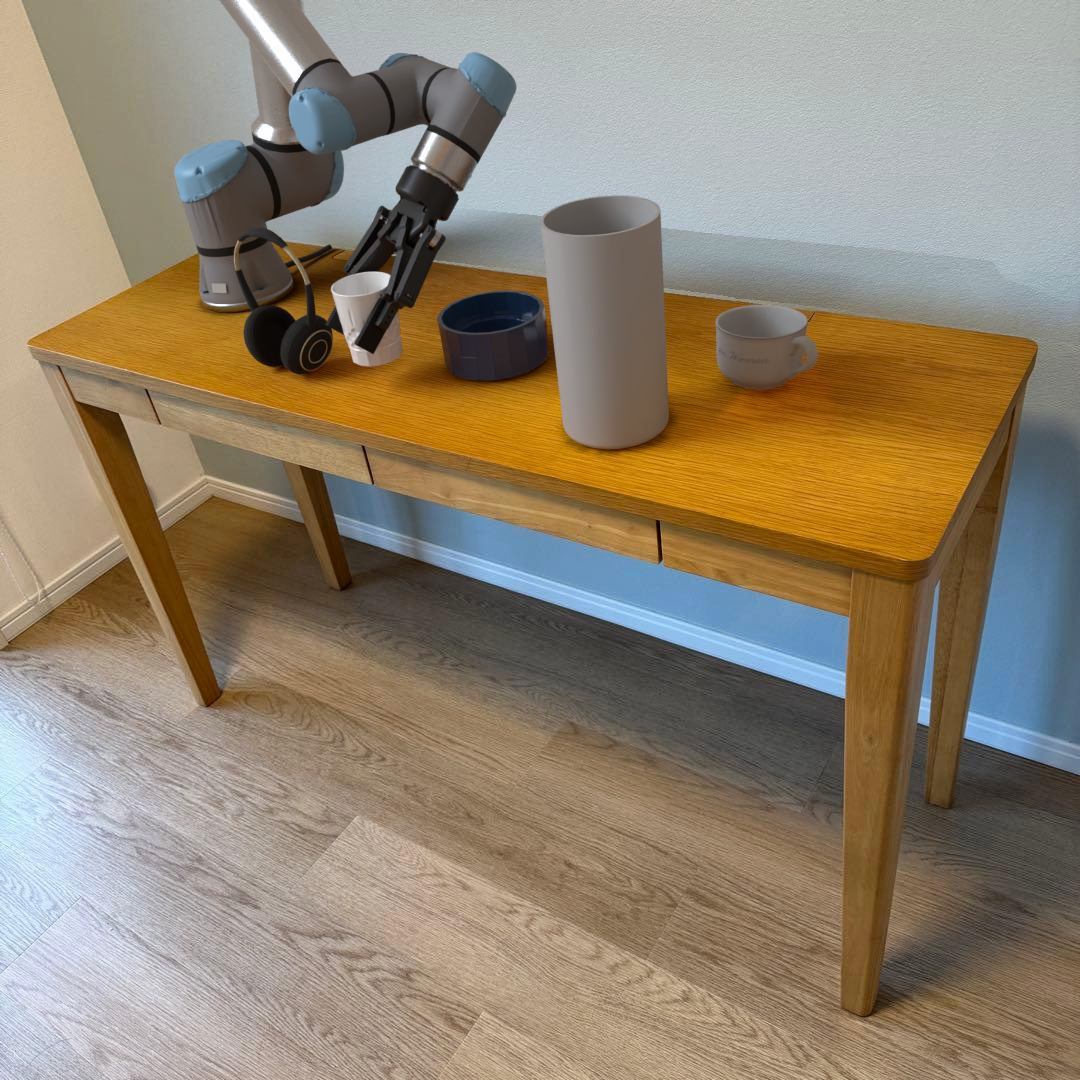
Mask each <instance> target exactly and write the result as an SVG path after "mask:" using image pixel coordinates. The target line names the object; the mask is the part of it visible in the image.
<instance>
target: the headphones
mask: <svg viewBox="0 0 1080 1080" xmlns="http://www.w3.org/2000/svg"><path fill="white" fill-rule="evenodd" d="M250 236H253V237H259V238H264V239H266V240H268V241H271V243H272V244H273V245H276V246H277V247H279V248H280V249H281V250H284V252H286V253H287V255H288V256H289V257H290V259H292V260H293V261H294V262H295V264H296V265H295V266H296V267H297V268H298V270H299V272H300V274H301V276H302V278H303V281H304V284H303V285H304V291H305V297H306V314H305V315H303V316H301V317H299V318H297V319H295V318H294V316H293V315H292V314H291V313H290V312H289V311H288V310H286V309H284V308H283V307H280V306H278V305H275V304H268V305H265V306H262V307H259V305H258V303H257V301H256V300H255V298H254V296H253V294H252V292H251V290H250V288H249V286H248V284H247V282H246V280H245V277H244V275H243V272H242V270H241V269H240V266H239V258H238V255H239V248H240V245H241V243H242V241H244V240H245V239H246V238H247V237H250ZM298 258H299V257H297V256H296V254H295V253H294V252H293V251H292V249H291V248H290V247H289V245H288V243H286V241H285V240H284V239H283V238H282V237H280V236H279V235H278V234H277V233H275V232H274V231H273V230H271V229H268V228H267V229H266V228H251V229H248V230H246V231H244V232H243V233H241V235H240V236H239V238H238V242H237V244H236V247H235V251H234V264H235V269H236V270H235V272H236V275H237V278H238V281H239V284H240V287H241V289H242V292H243V294H244V297H245V299H246V301H247V303H248V306H249V308H250V310H249V311H250V313H249V315H248V316H247V317H246V319H245V322H244V326H243V340H244V344H245V346H246V349H247V351H248V352H249V354H250V356H251V357H252V358H253V359H254V360H256V361H257V362H258V363H259V364H260V365H263V366H265V367H270V368H280V367H285V369H287V370H288V371H289V372H291V373H292V374H296V375H300V376H302V375H303V376H304V375H307V374H310V373H313V372H314V371H316V370H318V369H320V367H322V366H323V365H324V364H325V363H326V362H327V360H328V359H329V357H330V355H331V353H332V350H333V344H334V333H333V329H332V328H330V327H328V326H326V325H325V324H326V322H327V319H325V318H324V317H323V316H321V315H318V314H317V313H316V312H317V311H316V303H315V296H314V291H313V287H312V282H311V281H310V279H309V276H308V274H307V271H306V269H305V267H304V266H303V263H300V261H299V260H298Z"/></svg>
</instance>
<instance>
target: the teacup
mask: <svg viewBox="0 0 1080 1080" xmlns="http://www.w3.org/2000/svg"><path fill="white" fill-rule="evenodd" d="M808 319H809V318H808V317H807V315H805V314H804V313H802V312H801V311H799V310H797V309H795V308H793V307H789V306H784V305H776V304H752V305H743V306H738V307H733V308H730V309H728V310H726V311H723V312H722V313H721V314H719V315H717V317H716V319H715V327H716V332H715V333H716V334H715V335H716V338H715V345H716V347H715V348H716V349H715V350H716V351H715V352H716V353H715V354H716V362H717V363H716V364H717V366H718V369H719V371H720V373H721V374H722V375H723V376H724V377H725V378H727V379H728V380H729V381H731V383H733V384H734V385H736V386H737V387H739V388H743V389H747V390H754V391H764V390H765V391H767V390H771V389H772V390H773V389H776V388H779V387H781V386H783V385H784V384H786V383H787V382H788V381H790V380H794V379H797V377H798V375H802V374H804V373H806V372H808V371H810V370H811V369H813V368H814V367H815V366H816V364H817V361H818V359H819V358H818V357H819V352H818V348H817V345H816V343H815V342H814V340H813V339H811V338H810V337H809V336H807V329H808V326H809V320H808ZM804 357H805V358H804ZM804 359H805V361H804ZM803 362H804V363H803Z"/></svg>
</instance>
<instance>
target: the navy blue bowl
mask: <svg viewBox="0 0 1080 1080" xmlns="http://www.w3.org/2000/svg"><path fill="white" fill-rule="evenodd" d="M436 321H437V325H438V331H439V336H440V343H441V347H442V353H443V358H444V364H445V367H446V370H447V371H449V372H450V374H452V375H453V376H456V377H459V378H462V379H464V380H471V381H479V382H480V381H481V382H482V381H498V380H503V379H511V378H514V377H517V376H521V375H523V374H527V373H529V372H531V371H533V370H534V369H536V368H538V367H540V366H541V365H542V364H543V363H544V362H545V361H546V360H547V359H548V357H549V353H550V342H549V334H548V326H547V325H548V323H547V315H546V307H545V304H544V302H543V300H542V298H540V297H538V296H537V295H535V294H533V293H529V292H527V291H526V292H525V291H520V290H507V289H506V290H492V291H490V290H489V291H485V292H479V293H478V292H477V293H475V294H471V295H468V296H465V297H461V298H459V299H456V300H455V301H453V302H451V303H448V304H447V305H446V306H445V307H444V308H443V309H441V310H440V312H439V313H438V315H437V317H436Z"/></svg>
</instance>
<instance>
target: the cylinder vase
mask: <svg viewBox="0 0 1080 1080" xmlns="http://www.w3.org/2000/svg"><path fill="white" fill-rule="evenodd" d="M661 213H662V211H661V207H660V205H659V204H658V203H656V202H655V201H653V200H651V199H648V198H644V197H640V196H635V195H634V196H633V195H621V194H620V195H619V194H617V195H613V194H612V195H599V196H591V197H585V198H579V199H575V200H572V201H568V202H565V203H562V204H559V205H556V206H554V207H552V208H551V209H549V210H547V211H546V212H545V213H544V214H543V215H541V218H540V221H539V223H540V232H541V233H540V234H541V242H542V250H543V259H544V268H545V277H546V287H547V295H548V303H549V314H550V322H551V330H552V331H551V332H552V339H553V348H554V356H555V357H554V358H555V365H556V375H557V385H558V392H559V401H560V402H559V403H560V411H561V419H562V427H563V429H564V432H565V433H566V435H567V436H568V437H569V438H570V439H571V440H573V441H574V442H576V443H578V444H580V445H582V446H584V447H589V448H592V449H599V450H623V449H627V448H632V447H636V446H639V445H643V444H645V443H647V442H650V441H651V440H653V439H655V438H656V437H658V436H659V435H660V434H661V433H663V431H664V430H665V428H666V426H667V425H668V423H669V418H670V411H669V410H670V408H669V383H668V361H667V359H668V358H667V357H668V355H667V336H666V335H667V334H666V313H665V311H666V310H665V309H666V308H665V288H664V287H665V286H664V285H665V283H664V264H663V262H664V260H663V239H662V237H663V236H662V215H661Z"/></svg>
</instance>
